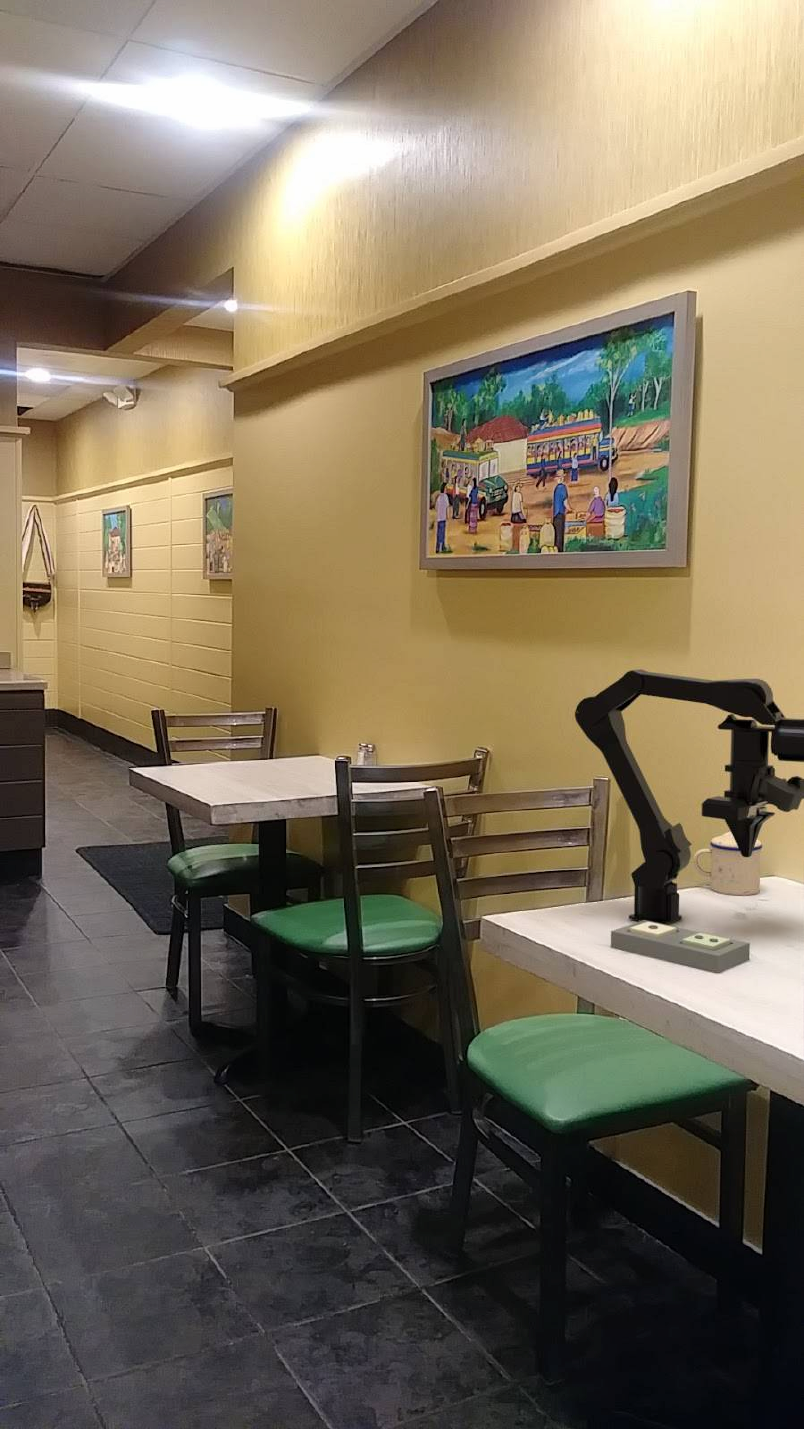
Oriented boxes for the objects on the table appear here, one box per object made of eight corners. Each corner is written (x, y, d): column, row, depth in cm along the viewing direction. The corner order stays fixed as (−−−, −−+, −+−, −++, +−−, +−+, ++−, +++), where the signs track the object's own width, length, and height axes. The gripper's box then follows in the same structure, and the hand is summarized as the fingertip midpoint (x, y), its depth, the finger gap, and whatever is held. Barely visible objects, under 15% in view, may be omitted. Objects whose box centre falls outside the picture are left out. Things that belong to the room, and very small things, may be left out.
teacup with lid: (760, 886, 215) (762, 824, 214) (761, 897, 206) (763, 833, 205) (693, 882, 218) (694, 820, 217) (692, 893, 209) (693, 829, 208)
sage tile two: (681, 952, 169) (682, 938, 169) (699, 945, 173) (700, 931, 173) (712, 960, 166) (712, 944, 166) (730, 952, 169) (730, 937, 169)
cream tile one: (629, 940, 176) (629, 926, 175) (647, 934, 179) (648, 920, 179) (658, 947, 172) (658, 932, 172) (676, 940, 176) (676, 926, 175)
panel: (610, 947, 176) (611, 931, 175) (643, 935, 182) (644, 919, 182) (717, 973, 163) (718, 955, 163) (749, 959, 169) (749, 942, 169)
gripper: (768, 769, 170) (765, 874, 171) (825, 758, 183) (822, 855, 185) (700, 762, 178) (698, 862, 179) (759, 752, 191) (757, 845, 192)
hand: (746, 856), depth 184 cm, fingers closed
